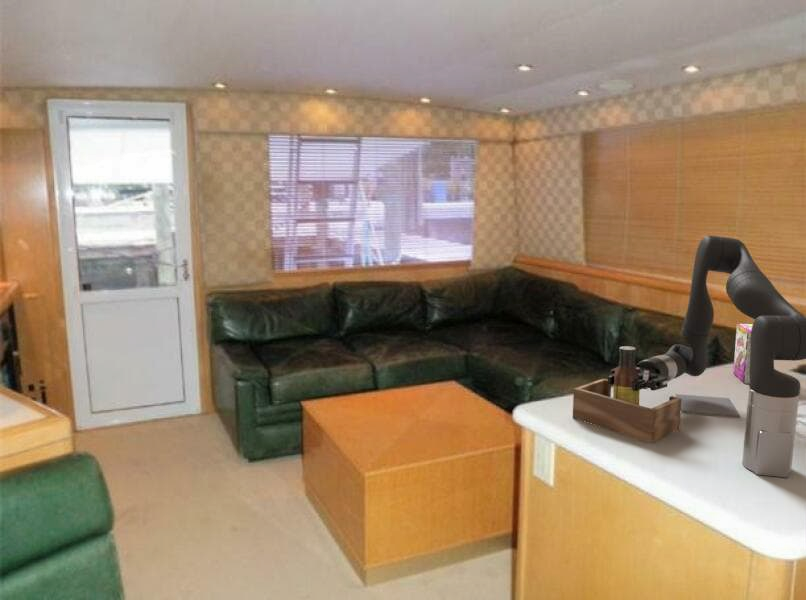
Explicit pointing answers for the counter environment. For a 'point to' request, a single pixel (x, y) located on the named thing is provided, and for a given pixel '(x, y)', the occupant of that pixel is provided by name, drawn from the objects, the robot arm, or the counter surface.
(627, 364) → the sauce bottle
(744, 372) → the candy bar box
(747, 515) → the counter surface
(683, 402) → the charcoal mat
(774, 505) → the counter surface
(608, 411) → the walnut crate
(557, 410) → the counter surface
